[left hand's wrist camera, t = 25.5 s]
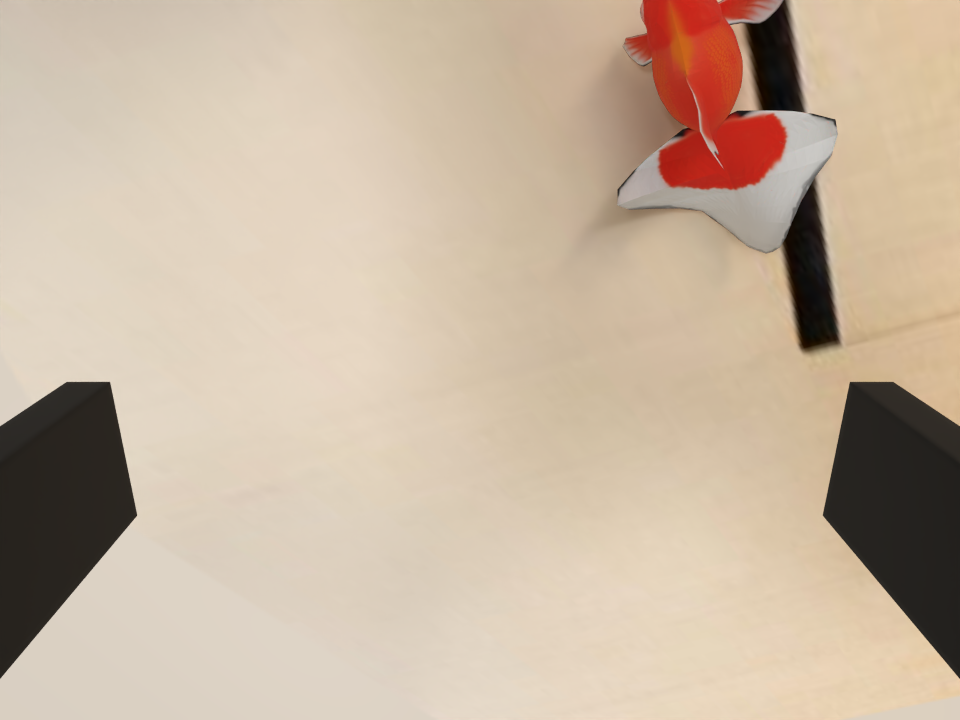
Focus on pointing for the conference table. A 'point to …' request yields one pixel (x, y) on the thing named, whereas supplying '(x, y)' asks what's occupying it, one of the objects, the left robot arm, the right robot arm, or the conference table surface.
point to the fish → (721, 126)
